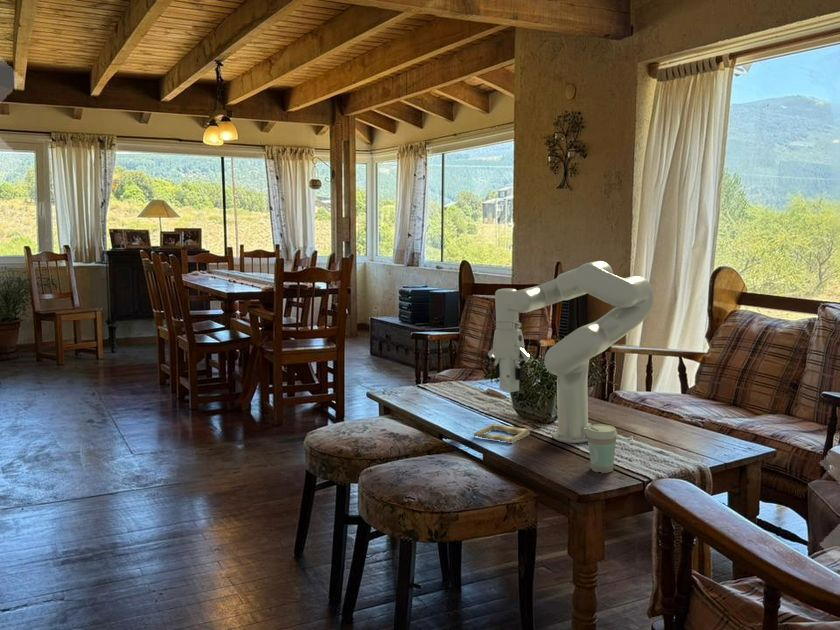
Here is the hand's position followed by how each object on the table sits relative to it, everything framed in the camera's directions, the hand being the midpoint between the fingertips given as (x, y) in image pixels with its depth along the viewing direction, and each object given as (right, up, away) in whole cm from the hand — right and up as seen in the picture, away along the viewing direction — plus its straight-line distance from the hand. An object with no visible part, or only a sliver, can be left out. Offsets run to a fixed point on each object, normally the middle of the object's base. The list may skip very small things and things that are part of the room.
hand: (509, 377), depth 243 cm
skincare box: (0, -4, +1) cm, 5 cm away
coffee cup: (+21, -22, -40) cm, 51 cm away
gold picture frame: (-3, -19, -6) cm, 20 cm away
